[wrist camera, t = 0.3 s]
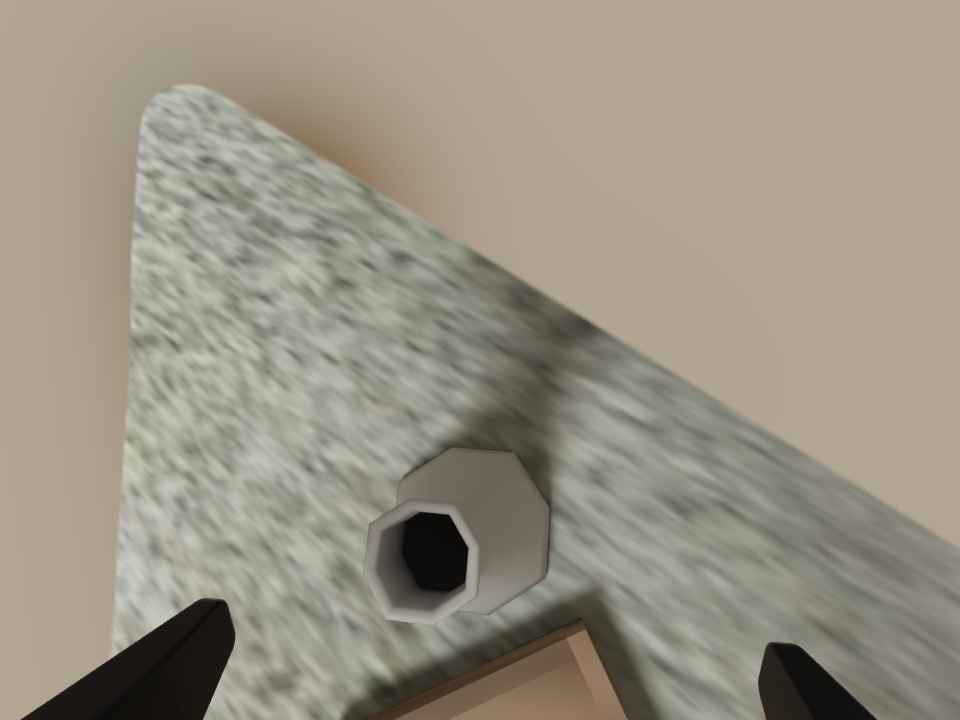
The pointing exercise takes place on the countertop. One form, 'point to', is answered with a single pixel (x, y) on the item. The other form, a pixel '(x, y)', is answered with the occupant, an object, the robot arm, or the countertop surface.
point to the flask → (458, 538)
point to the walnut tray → (525, 685)
